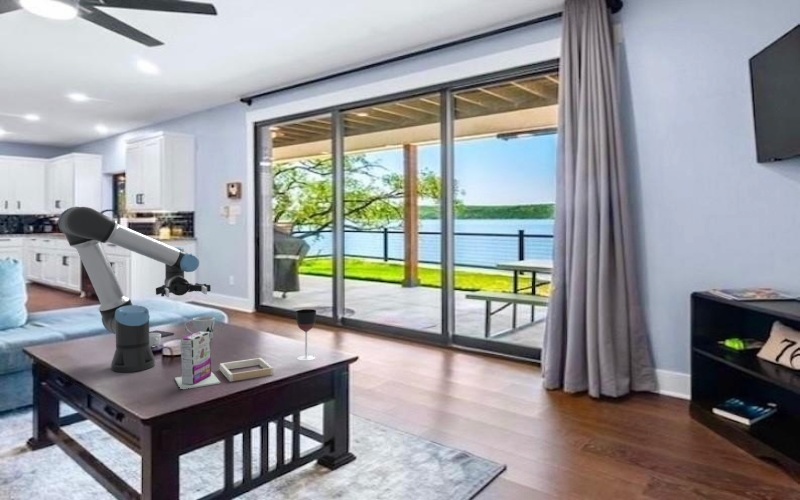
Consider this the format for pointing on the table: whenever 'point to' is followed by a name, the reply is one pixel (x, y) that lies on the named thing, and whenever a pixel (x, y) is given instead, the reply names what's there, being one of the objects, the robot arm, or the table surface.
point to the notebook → (162, 333)
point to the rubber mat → (205, 382)
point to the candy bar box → (195, 357)
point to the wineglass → (306, 326)
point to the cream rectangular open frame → (247, 374)
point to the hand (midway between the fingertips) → (187, 292)
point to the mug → (202, 324)
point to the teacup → (154, 339)
